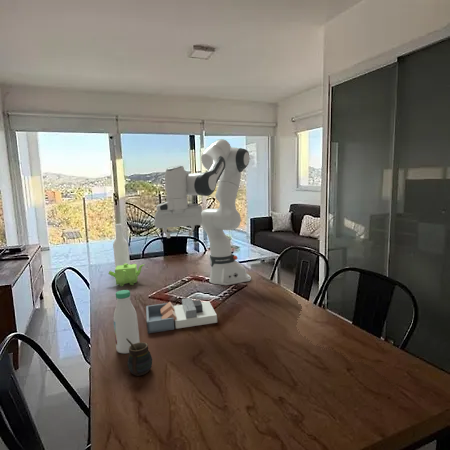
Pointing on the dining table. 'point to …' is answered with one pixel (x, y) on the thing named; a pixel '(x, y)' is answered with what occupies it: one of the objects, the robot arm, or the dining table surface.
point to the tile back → (167, 308)
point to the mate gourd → (139, 358)
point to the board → (201, 319)
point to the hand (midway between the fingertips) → (179, 236)
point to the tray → (157, 319)
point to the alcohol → (120, 247)
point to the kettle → (126, 274)
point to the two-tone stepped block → (191, 307)
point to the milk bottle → (125, 322)
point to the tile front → (170, 315)
